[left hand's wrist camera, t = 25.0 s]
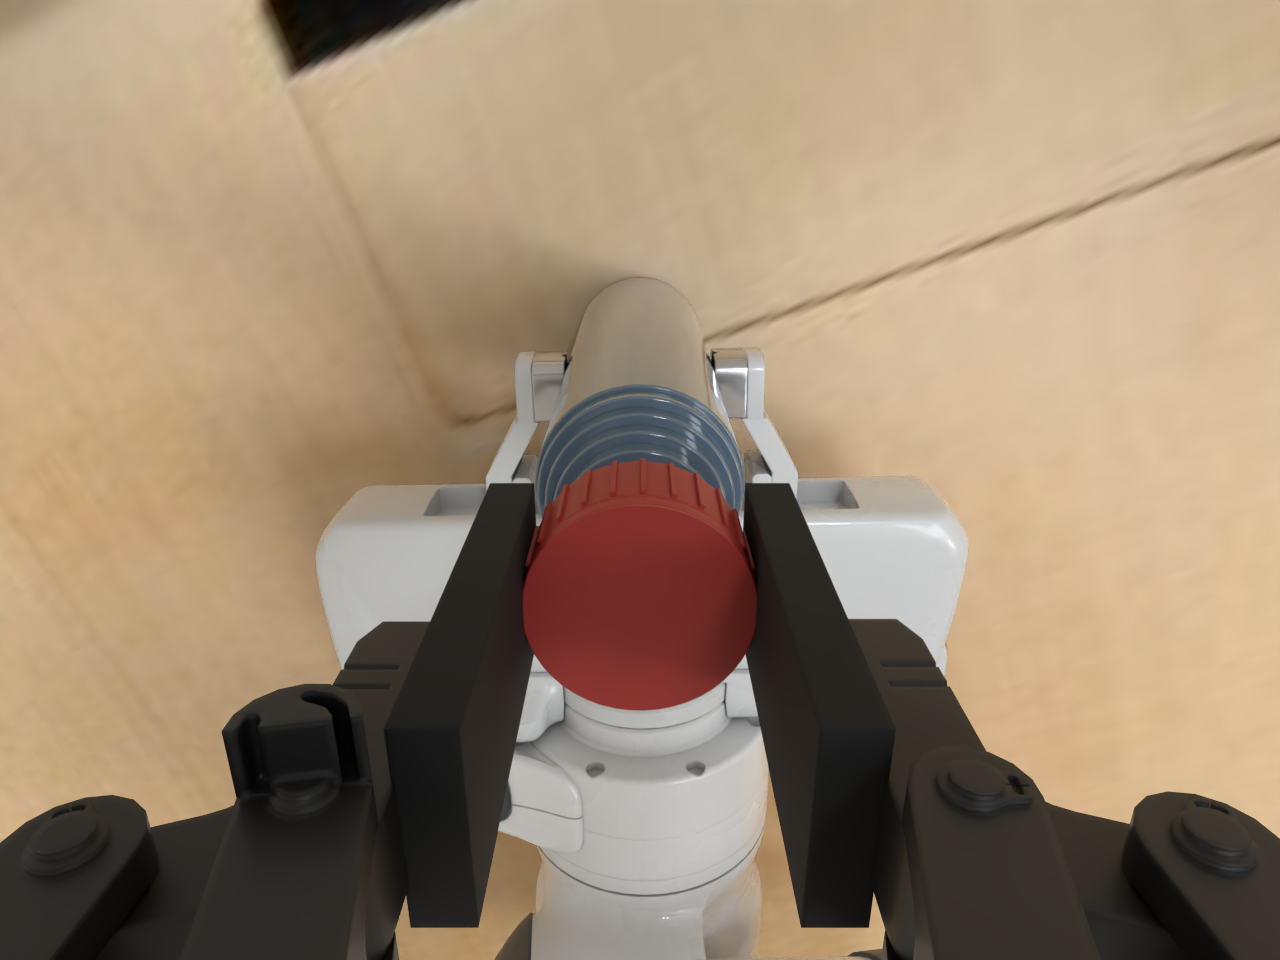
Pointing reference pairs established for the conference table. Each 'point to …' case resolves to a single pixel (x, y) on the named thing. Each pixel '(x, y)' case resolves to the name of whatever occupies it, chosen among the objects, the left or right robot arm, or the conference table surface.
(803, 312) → the conference table surface
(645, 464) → the cap
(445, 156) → the conference table surface
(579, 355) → the bottle
